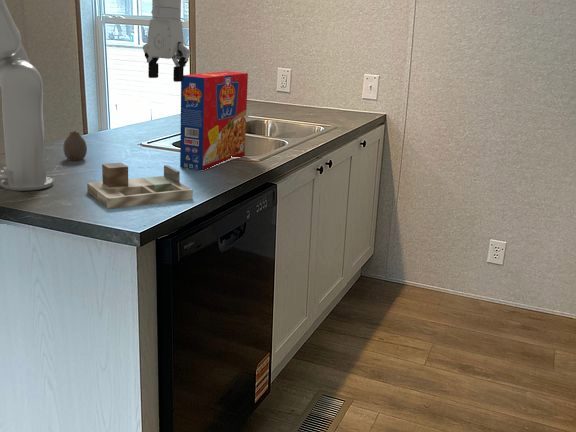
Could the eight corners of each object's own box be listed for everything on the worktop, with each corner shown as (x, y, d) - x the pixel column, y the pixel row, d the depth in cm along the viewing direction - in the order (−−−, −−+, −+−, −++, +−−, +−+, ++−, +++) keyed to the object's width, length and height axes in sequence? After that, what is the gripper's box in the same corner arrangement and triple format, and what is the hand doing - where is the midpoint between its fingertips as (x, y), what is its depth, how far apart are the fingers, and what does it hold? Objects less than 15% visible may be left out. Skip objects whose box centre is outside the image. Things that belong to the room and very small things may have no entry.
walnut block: (109, 187, 159) (108, 168, 158) (102, 182, 163) (102, 163, 162) (128, 185, 162) (128, 166, 160) (121, 181, 166) (121, 162, 164)
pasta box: (202, 171, 193) (204, 77, 185) (180, 167, 196) (181, 75, 187) (244, 156, 218) (247, 73, 209) (224, 153, 220) (226, 71, 212)
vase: (59, 160, 195) (57, 132, 193) (73, 156, 201) (72, 129, 199) (77, 163, 193) (76, 134, 190) (91, 159, 199) (90, 131, 197)
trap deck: (108, 208, 151) (107, 186, 149) (87, 192, 163) (86, 171, 161) (192, 199, 163) (192, 178, 161) (167, 184, 175) (167, 165, 173)
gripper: (133, 12, 172) (133, 76, 177) (179, 15, 163) (178, 83, 168) (154, 14, 178) (153, 76, 183) (199, 17, 169) (198, 82, 174)
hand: (165, 79), depth 175 cm, fingers open, 9 cm apart
